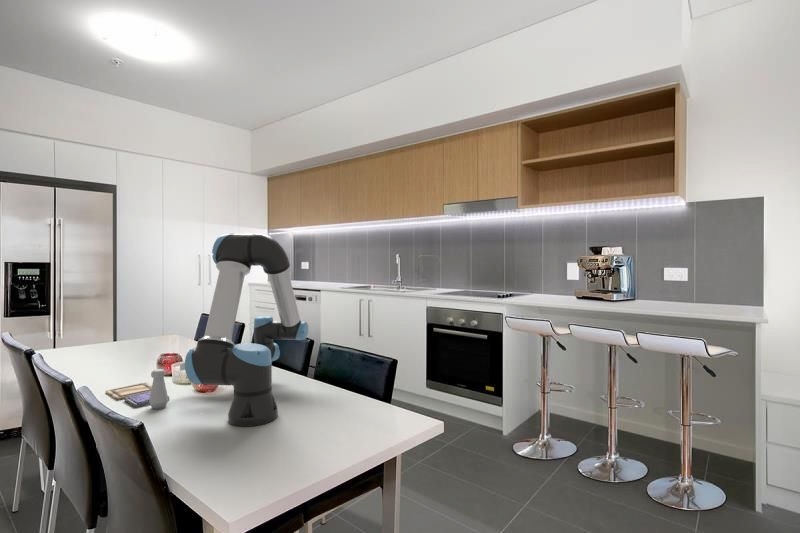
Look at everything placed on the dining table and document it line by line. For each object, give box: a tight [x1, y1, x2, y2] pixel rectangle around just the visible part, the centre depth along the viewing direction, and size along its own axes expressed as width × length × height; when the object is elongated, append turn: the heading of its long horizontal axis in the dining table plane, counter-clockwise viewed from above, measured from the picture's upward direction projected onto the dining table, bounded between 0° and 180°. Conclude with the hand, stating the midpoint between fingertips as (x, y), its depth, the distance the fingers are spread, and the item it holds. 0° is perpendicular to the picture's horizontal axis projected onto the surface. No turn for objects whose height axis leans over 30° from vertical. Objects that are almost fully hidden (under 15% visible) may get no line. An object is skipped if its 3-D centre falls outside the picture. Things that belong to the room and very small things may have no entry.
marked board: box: [105, 382, 152, 401], centre depth 170 cm, size 14×14×1 cm
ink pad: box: [124, 392, 170, 409], centre depth 160 cm, size 11×11×2 cm
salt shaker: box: [149, 368, 169, 410], centre depth 152 cm, size 6×6×13 cm
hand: (188, 370), depth 160 cm, fingers open, 13 cm apart
